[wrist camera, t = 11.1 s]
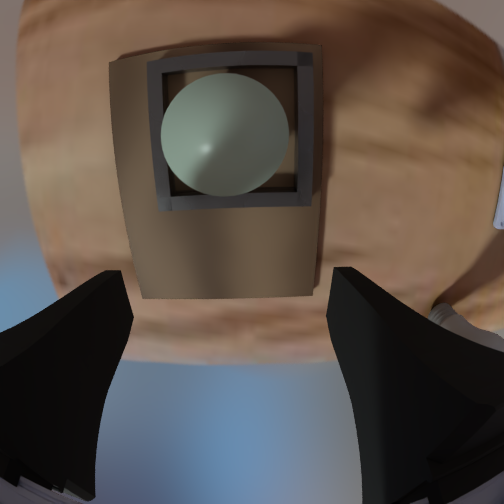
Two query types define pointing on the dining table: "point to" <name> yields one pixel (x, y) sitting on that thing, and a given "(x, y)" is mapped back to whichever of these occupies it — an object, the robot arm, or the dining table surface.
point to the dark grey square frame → (223, 61)
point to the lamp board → (214, 220)
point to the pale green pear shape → (224, 134)
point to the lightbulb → (464, 327)
